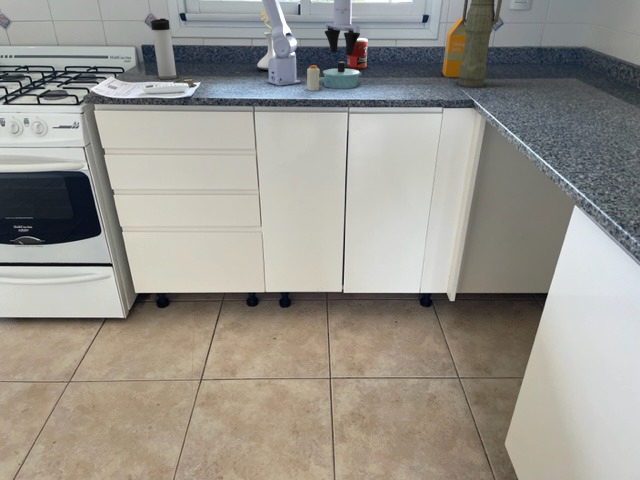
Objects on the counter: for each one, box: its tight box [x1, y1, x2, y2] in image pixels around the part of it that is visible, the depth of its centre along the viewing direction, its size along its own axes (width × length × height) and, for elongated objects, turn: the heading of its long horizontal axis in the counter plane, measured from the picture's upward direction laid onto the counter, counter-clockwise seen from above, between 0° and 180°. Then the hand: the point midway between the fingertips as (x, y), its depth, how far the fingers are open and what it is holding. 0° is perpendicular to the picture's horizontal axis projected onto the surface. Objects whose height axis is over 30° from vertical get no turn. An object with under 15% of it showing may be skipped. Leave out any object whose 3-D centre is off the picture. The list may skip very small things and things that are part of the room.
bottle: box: [306, 64, 320, 92], centre depth 163 cm, size 4×4×8 cm
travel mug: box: [150, 17, 177, 80], centre depth 177 cm, size 6×7×20 cm
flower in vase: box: [257, 5, 276, 71], centre depth 190 cm, size 13×11×25 cm
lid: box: [322, 61, 360, 77], centre depth 168 cm, size 13×13×4 cm
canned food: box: [347, 37, 368, 70], centre depth 199 cm, size 8×8×11 cm
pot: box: [319, 72, 363, 90], centre depth 170 cm, size 12×17×4 cm
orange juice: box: [442, 17, 466, 78], centre depth 183 cm, size 8×9×20 cm
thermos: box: [457, 0, 503, 89], centre depth 163 cm, size 9×12×35 cm
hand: (341, 53), depth 166 cm, fingers open, 7 cm apart
